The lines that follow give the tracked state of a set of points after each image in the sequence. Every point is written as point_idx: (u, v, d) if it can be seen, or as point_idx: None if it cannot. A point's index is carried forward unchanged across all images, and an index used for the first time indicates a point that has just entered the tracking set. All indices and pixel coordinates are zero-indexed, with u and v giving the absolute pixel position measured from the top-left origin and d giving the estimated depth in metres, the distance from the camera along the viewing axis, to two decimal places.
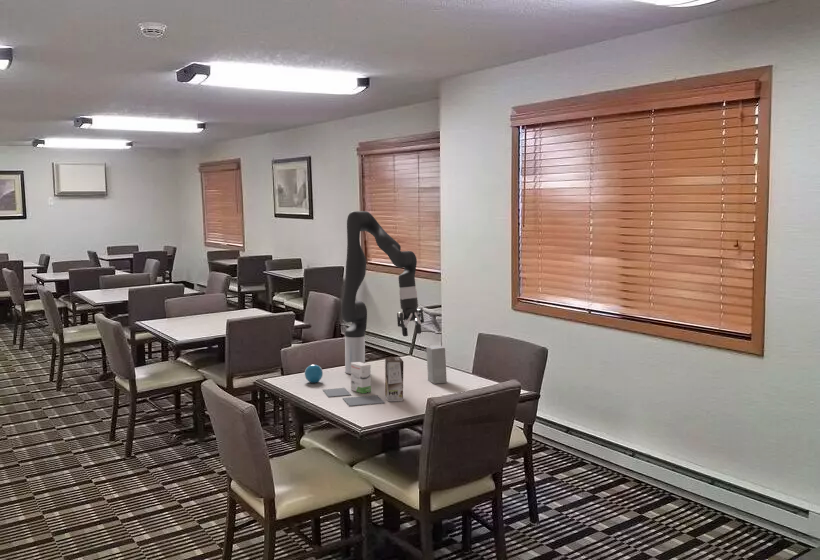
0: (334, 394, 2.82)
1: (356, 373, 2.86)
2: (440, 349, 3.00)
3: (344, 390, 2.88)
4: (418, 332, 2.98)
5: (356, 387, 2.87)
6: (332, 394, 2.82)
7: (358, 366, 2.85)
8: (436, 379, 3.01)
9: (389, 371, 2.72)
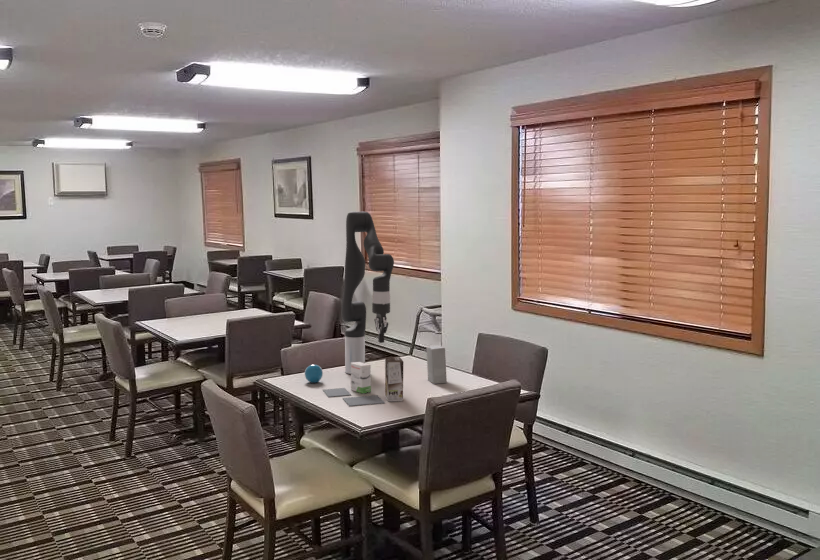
0: (334, 394, 2.82)
1: (356, 373, 2.86)
2: (440, 349, 3.00)
3: (344, 390, 2.88)
4: None
5: (356, 387, 2.87)
6: (332, 394, 2.82)
7: (358, 366, 2.85)
8: (436, 379, 3.01)
9: (389, 371, 2.72)
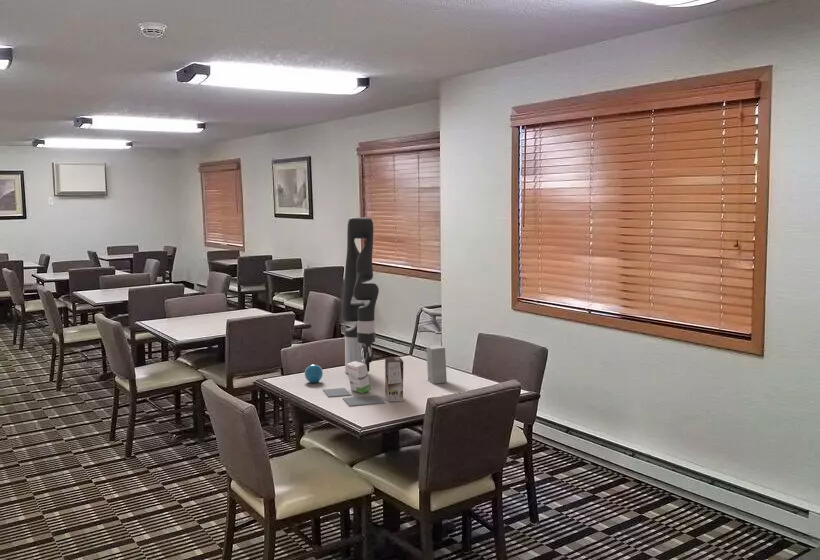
0: (334, 394, 2.82)
1: (353, 374, 2.85)
2: (440, 349, 3.00)
3: (344, 390, 2.88)
4: None
5: (355, 387, 2.87)
6: (332, 394, 2.82)
7: (354, 367, 2.84)
8: (436, 379, 3.01)
9: (389, 371, 2.72)
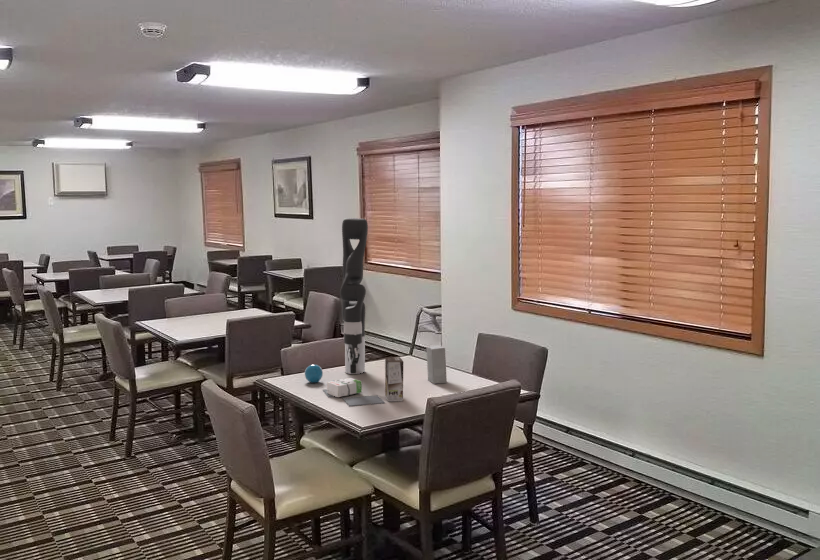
0: None
1: None
2: (440, 349, 3.00)
3: None
4: None
5: None
6: None
7: None
8: (436, 379, 3.01)
9: (389, 371, 2.72)
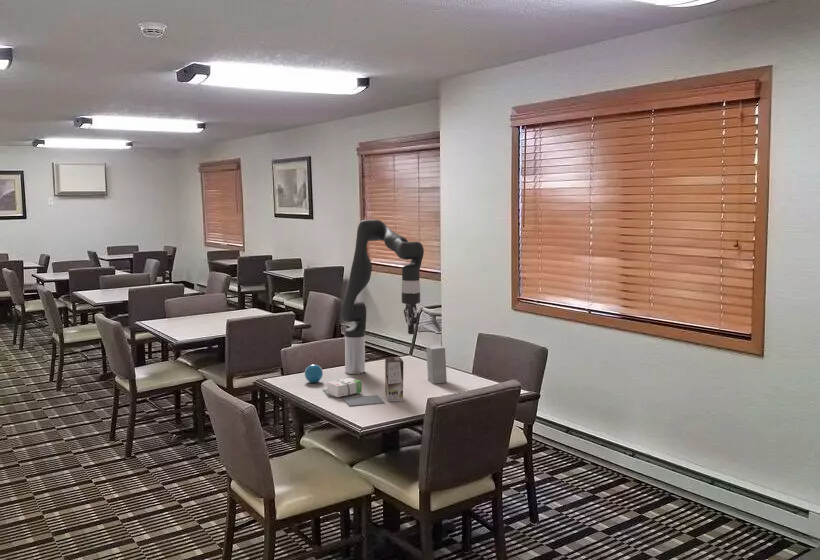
0: None
1: None
2: (440, 349, 3.00)
3: None
4: None
5: None
6: None
7: None
8: (436, 379, 3.01)
9: (389, 371, 2.72)
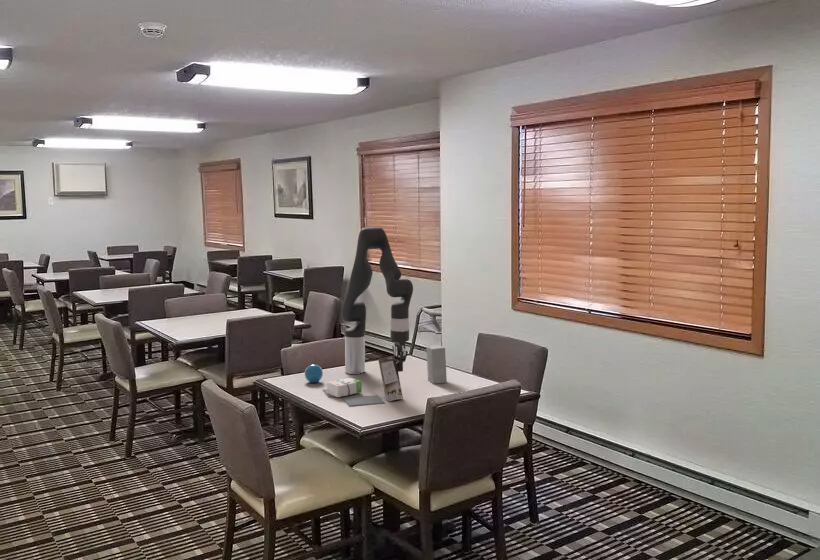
0: None
1: None
2: (440, 349, 3.00)
3: None
4: None
5: None
6: None
7: None
8: (436, 379, 3.01)
9: (383, 371, 2.72)
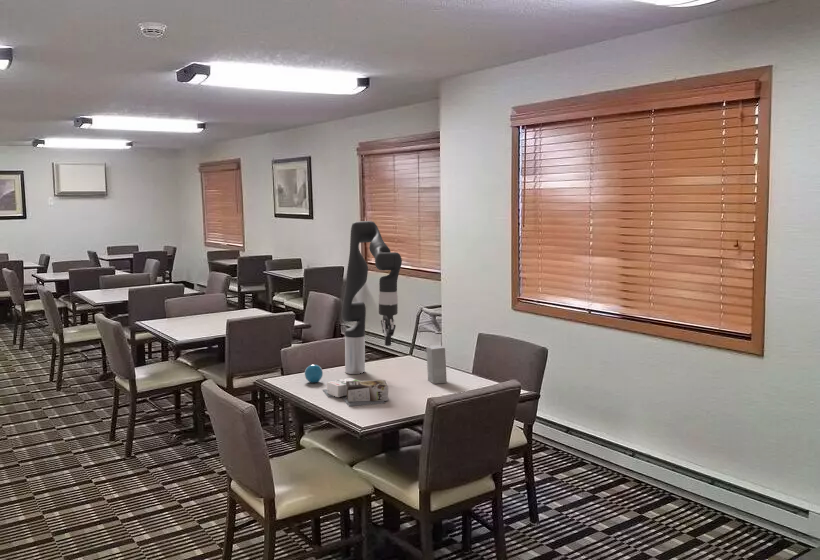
0: None
1: None
2: (440, 349, 3.00)
3: None
4: None
5: None
6: None
7: None
8: (436, 379, 3.01)
9: (357, 400, 2.71)
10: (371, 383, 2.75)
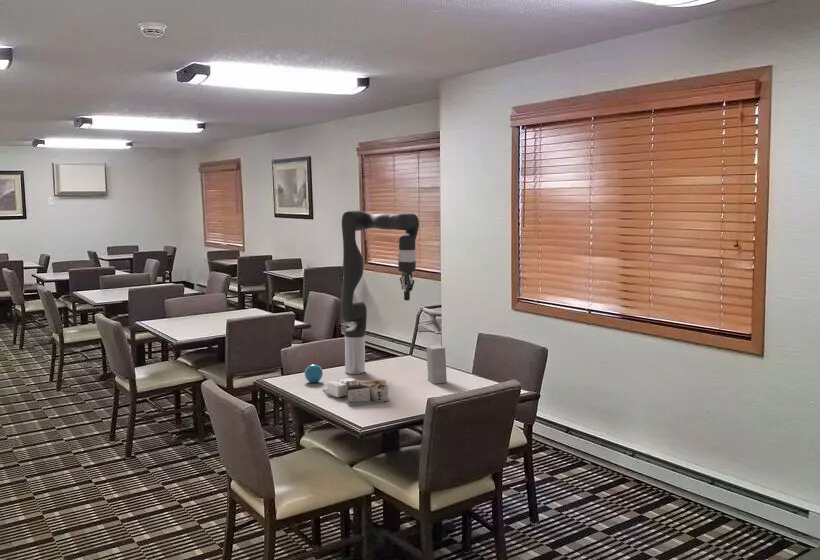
0: None
1: None
2: (440, 349, 3.00)
3: None
4: None
5: None
6: None
7: None
8: (436, 379, 3.01)
9: (357, 400, 2.71)
10: (371, 383, 2.75)
